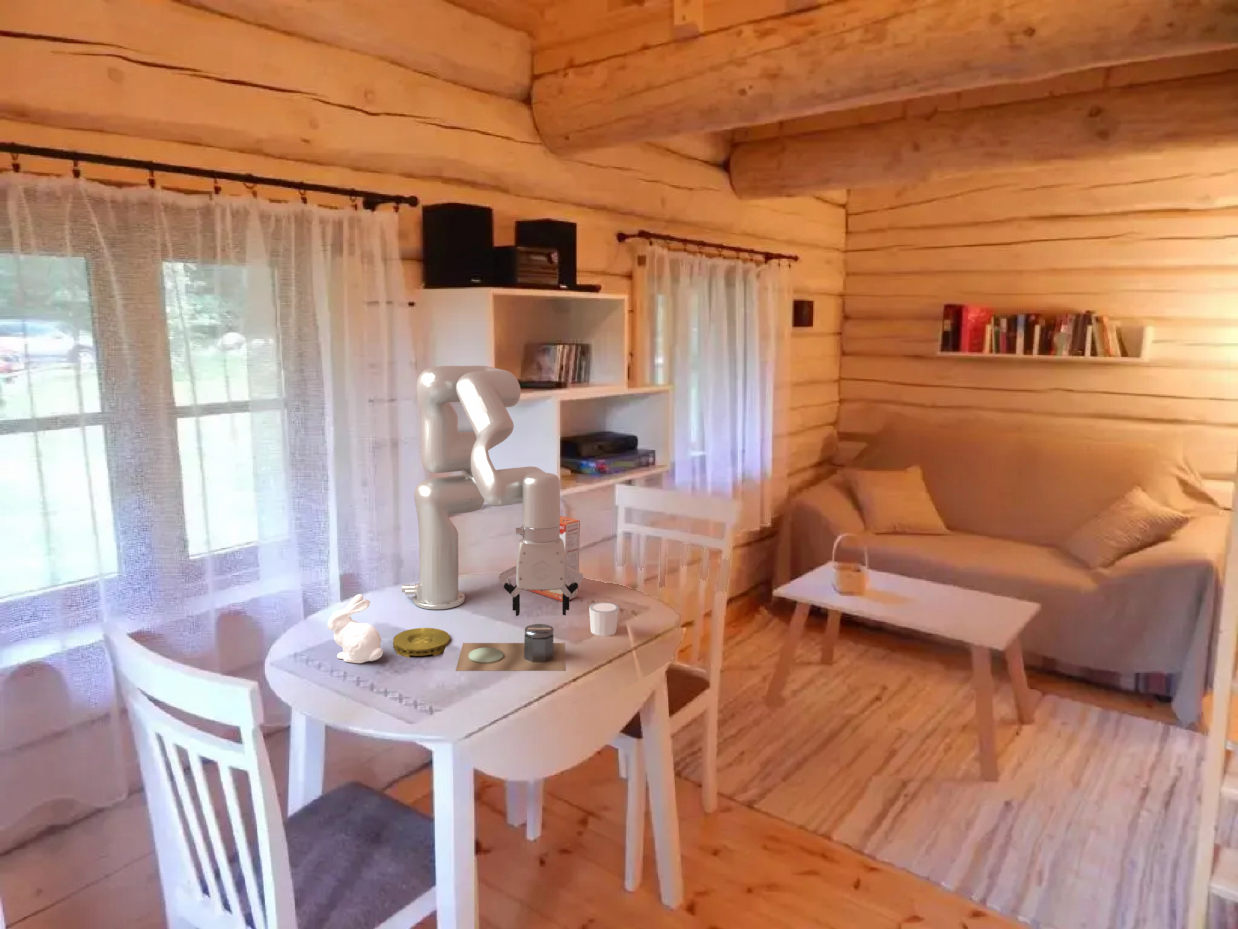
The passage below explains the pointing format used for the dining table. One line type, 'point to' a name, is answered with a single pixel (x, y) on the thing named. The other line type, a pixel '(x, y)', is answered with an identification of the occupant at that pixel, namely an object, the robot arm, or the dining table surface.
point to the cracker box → (567, 555)
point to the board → (506, 658)
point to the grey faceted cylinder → (538, 643)
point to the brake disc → (421, 642)
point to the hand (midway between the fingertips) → (541, 613)
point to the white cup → (603, 618)
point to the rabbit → (355, 634)
